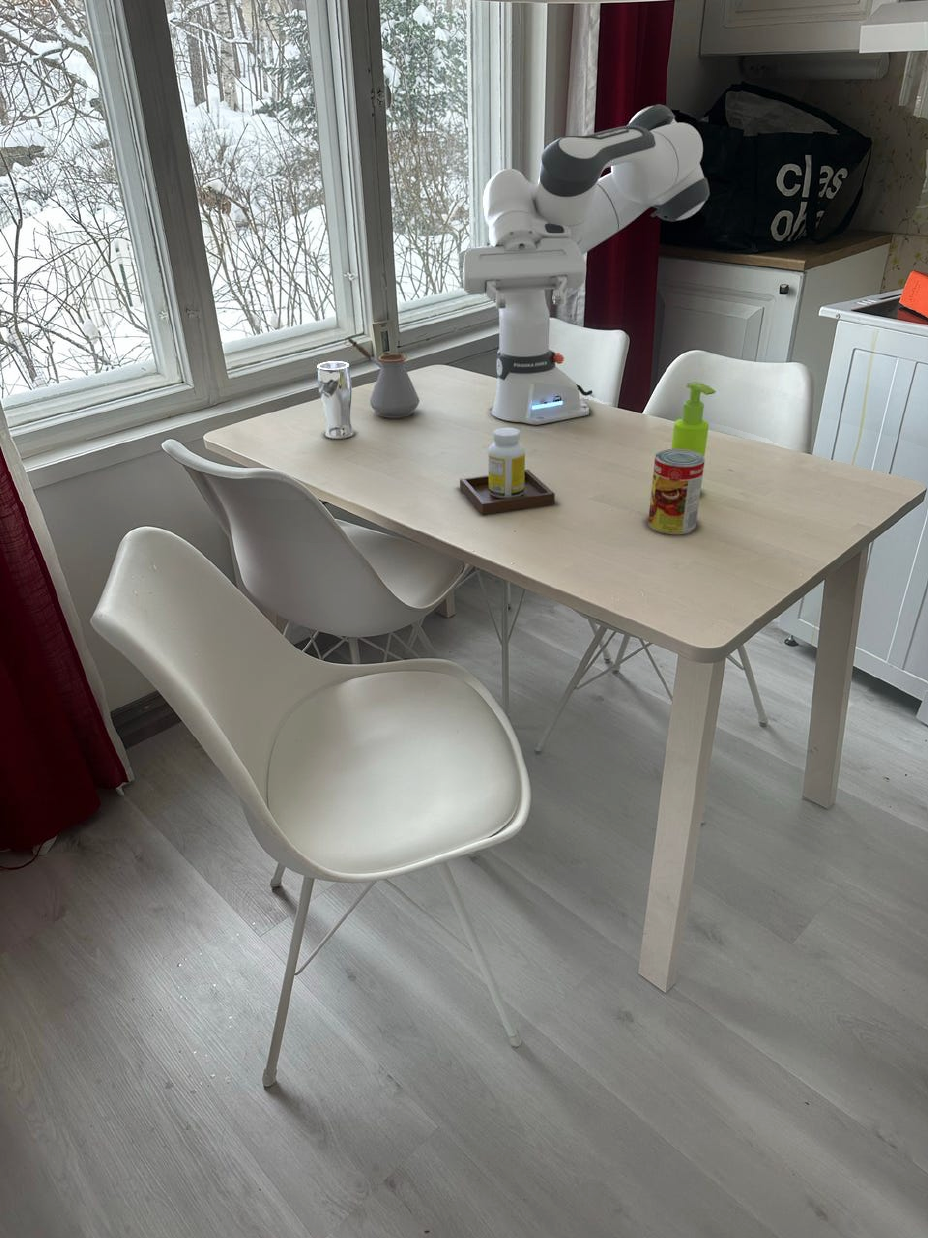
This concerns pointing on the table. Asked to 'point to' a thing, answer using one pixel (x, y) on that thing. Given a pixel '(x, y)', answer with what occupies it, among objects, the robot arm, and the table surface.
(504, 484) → the pill bottle
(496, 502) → the tray
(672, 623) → the table surface
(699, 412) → the soap dispenser
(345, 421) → the beer glass
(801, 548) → the table surface
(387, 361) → the coffee pot
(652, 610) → the table surface
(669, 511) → the canned food
